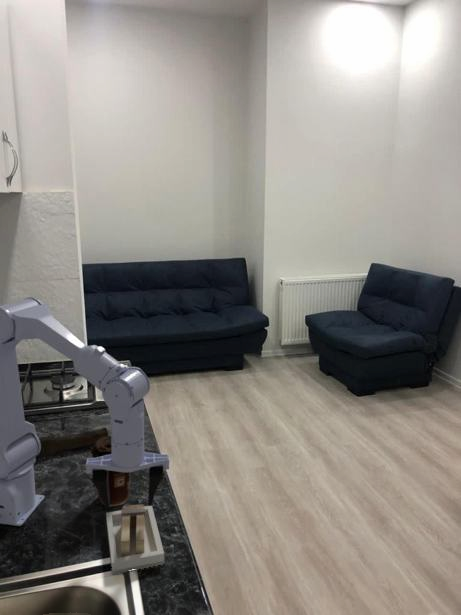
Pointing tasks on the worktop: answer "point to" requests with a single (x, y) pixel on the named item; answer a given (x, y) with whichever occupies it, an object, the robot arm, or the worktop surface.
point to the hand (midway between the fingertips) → (129, 504)
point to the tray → (134, 543)
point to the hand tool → (69, 441)
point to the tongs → (132, 519)
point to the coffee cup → (113, 475)
